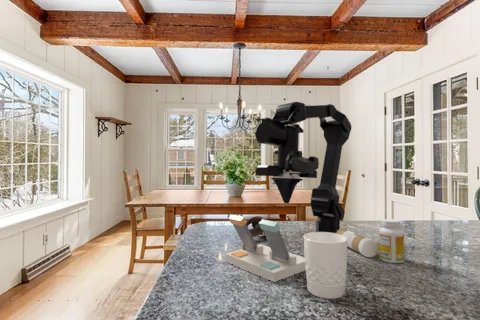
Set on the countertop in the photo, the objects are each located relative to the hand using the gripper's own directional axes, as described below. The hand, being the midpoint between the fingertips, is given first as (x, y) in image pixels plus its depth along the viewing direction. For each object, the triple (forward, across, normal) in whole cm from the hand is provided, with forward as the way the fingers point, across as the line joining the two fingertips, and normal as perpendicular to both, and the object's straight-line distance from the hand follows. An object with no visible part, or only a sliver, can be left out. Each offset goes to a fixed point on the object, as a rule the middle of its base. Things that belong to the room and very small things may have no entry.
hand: (286, 203), depth 78 cm
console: (+14, -12, -6) cm, 19 cm away
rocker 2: (+11, -11, -11) cm, 19 cm away
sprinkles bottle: (+9, +18, -5) cm, 21 cm away
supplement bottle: (+12, +15, -21) cm, 29 cm away
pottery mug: (+13, +1, +13) cm, 18 cm away
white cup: (+14, -11, -22) cm, 29 cm away
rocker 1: (+11, -12, -1) cm, 16 cm away
